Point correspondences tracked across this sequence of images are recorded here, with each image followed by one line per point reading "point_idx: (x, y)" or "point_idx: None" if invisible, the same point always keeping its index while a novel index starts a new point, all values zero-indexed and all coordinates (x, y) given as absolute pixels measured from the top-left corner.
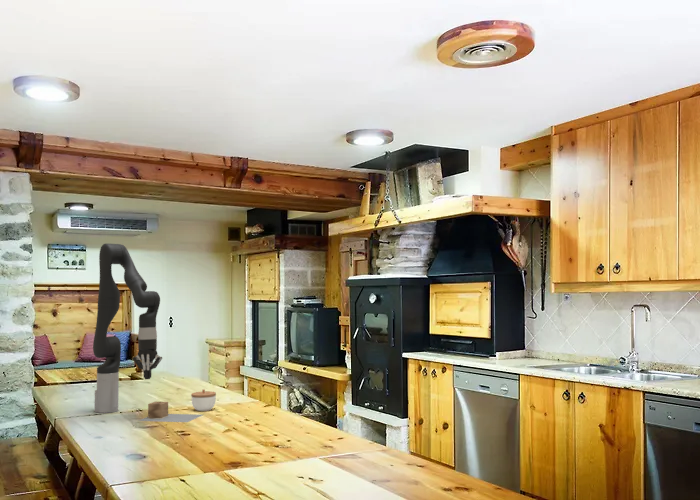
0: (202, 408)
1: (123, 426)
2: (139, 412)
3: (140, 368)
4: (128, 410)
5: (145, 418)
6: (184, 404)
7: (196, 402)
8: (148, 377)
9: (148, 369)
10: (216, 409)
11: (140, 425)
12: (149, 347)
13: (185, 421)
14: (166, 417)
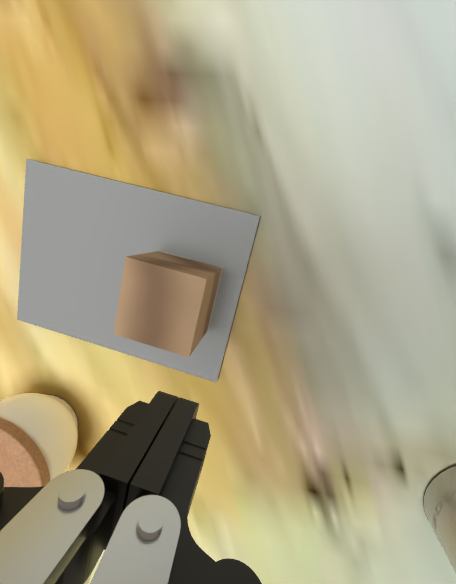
0: (34, 393)
1: (303, 96)
2: (307, 441)
3: (236, 573)
4: (372, 498)
5: (235, 270)
6: None
7: (33, 408)
8: (147, 407)
9: (68, 483)
10: None
11: (222, 120)
12: None
13: (39, 176)
14: None
